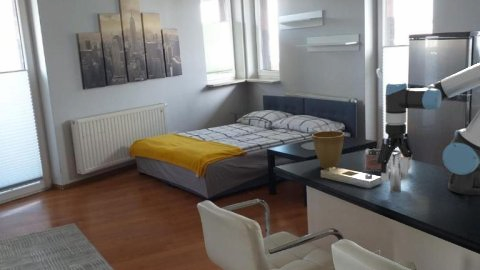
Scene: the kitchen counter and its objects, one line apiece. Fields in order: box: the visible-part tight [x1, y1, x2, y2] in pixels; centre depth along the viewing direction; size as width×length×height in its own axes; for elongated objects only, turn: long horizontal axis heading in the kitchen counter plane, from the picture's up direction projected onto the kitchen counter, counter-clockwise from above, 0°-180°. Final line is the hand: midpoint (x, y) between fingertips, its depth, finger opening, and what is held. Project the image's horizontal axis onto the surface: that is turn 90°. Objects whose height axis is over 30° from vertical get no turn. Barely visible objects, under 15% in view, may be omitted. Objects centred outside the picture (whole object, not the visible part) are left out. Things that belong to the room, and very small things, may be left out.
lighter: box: [365, 148, 381, 172], centre depth 218 cm, size 8×3×10 cm, turn 62°
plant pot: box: [311, 130, 345, 169], centre depth 228 cm, size 15×15×16 cm
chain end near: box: [338, 172, 382, 189], centre depth 202 cm, size 16×8×4 cm, turn 39°
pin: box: [389, 151, 402, 193], centre depth 188 cm, size 4×4×15 cm
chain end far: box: [320, 166, 362, 182], centre depth 210 cm, size 16×8×4 cm, turn 39°
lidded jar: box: [387, 151, 413, 175], centre depth 213 cm, size 11×11×9 cm
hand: (395, 176), depth 189 cm, fingers open, 13 cm apart
